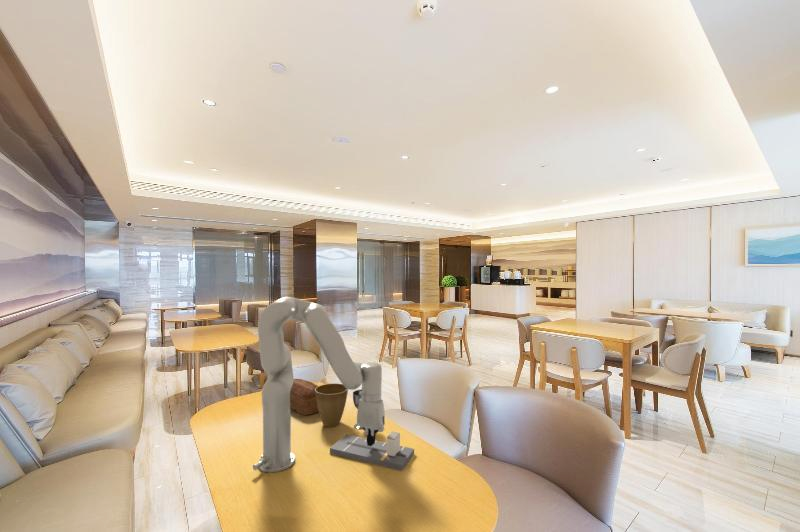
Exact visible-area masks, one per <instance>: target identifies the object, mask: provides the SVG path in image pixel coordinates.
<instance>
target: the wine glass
mask: <svg viewBox="0 0 800 532" xmlns="http://www.w3.org/2000/svg"><path fill="white" fill-rule="evenodd" d="M360 391H362V389H357V390H356V389H355V390H353V392H352V402H353V405H354V408H356V409H357V410H358V405H359V400H360V399H361V395H359V392H360ZM353 427H354V428H353V429H356V430H360V431H361V430H363V428H361V427H359V426H358V425H357V423H355V424H354V425H353ZM363 431H364V430H363Z"/></svg>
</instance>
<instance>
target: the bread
mask: <svg viewBox="0 0 800 532" xmlns="http://www.w3.org/2000/svg"><path fill="white" fill-rule="evenodd" d="M318 386H319V385H318V384H316V383H314V382H312V381H309V380H305V379H302V378H293V385H292V388H291V391H290V409H292V410H294V411H296V412H297V413H299V414H301V415H304V416H308V415H312V414H313V415H314V414H316V413H319V410H318V406H317V401H316V395H315V389H316V388H317V387H318Z"/></svg>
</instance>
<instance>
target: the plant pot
mask: <svg viewBox="0 0 800 532" xmlns="http://www.w3.org/2000/svg"><path fill="white" fill-rule="evenodd" d="M317 386H318V387H317V388H316V389H315V395H316V401H317V406H318V410H319V412H318V414H319V417H320V420H321V423H322V425H323V426H324V427H326V428H333V427H337V426H339V424H340V423H341V420H342V417H343V414H344V410H345V407H346V403H347V398H348V391H349V389H347V388H346V387H344V386H343V384H342V383H325V384H321V385H317Z"/></svg>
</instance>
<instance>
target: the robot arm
mask: <svg viewBox="0 0 800 532" xmlns="http://www.w3.org/2000/svg"><path fill="white" fill-rule="evenodd" d="M290 320H293V321H297V322H300V323H304V325H305V327H306V328H307V330H308V331H309V333H310V334H311V336H312V337H313V339H314V340H315V342H316V343H317V345H318V347H319V348H320V350H321V352H322V353H323V355H324V357H325V358H326V360H327V362H328V363H329V365H330V367H331V368H332V371H333V372H334V374H335V375H336V377H337V378H338V379H339V381H340V384H343V386H344V387H346V388H347V389H348V390H350V391H351V390H352V391H355V390H356V389H357V390H358V388H359V387H360V386H361V390H362V391H360V392H359V395H361V399H360V400H359V405H358V409H357V413H356V424H357V425H358V426H359V427H361V428H363V431H364V433H365V435H366V439H367V446H372V445H373V444H374V443H375V441H376V434H377V433H382V432H384V431H385V423H386V422H385V421H386V413H385V405H384V400H383V398H382V384H383V383H382V381H383V380H382V376H383V375H382V373H383V372H382V368H383V367H382V365H381V364H380V363H378V362H367V363H366V362H365V363H364V362H356V361H353V359H352V357H351V356H350V354H349V352H348V349H347V348H346V344H345V341H344V339H343V337H342V336H341V334H340V333H339V331H338V330H337V328H336V327H335V325H334V324H333V322H332V321H331V319H330V317H329V316H328V314H327V310H326V308H325V307H324V306H323V305H321V304H319V303H315V302H311V301H307V300H304V299H300V298H297V297H293V296H283V297H280V298H278V299H276V300H274V301H272V303H270V304H269V305H267V306H266V307H265V308H264V309H263V310H262V312H261V313H260V314H259V317H258V320H257V321H258V323H257V333H258V334H257V335H258V344H259V345H258V346H259V354H260V355H259V357H260V365H261V368H262V369H263V371H264V372H265V373H267V379H266V381H265V383H264V385H263V387H262V389H261V404H262V453H263V454H262V453H261V455H260V459H259V461H257V462H256V463H255V464H253V465H252V469H253V470H254V471H257V470H258V469H259V470H260V471H262V472H265V473H277V472H281V471H282V472H283V471H284V470H287V469H289V468H290V467H291V466H292V465H293V464H294V463H295V462H296V455H295V453H293V452H292V451H291V450H292V448H291V446H292V443H291V442H292V441H291V440H292V437H291V434H292V433H291V431H292V430H291V429H292V427H291V422H292V421H291V419H292V418H291V417H292V416H291V408H290V391H291V388H292V385H293V379H294V372H293V371H294V370H293V362H292V361H293V360H292V353H291V349H290V347H289V346H288V345H287V344H286V343H285V339H284V338H285V337H284V331H283V325H284V324H285V323H286V322H288V321H290Z"/></svg>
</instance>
